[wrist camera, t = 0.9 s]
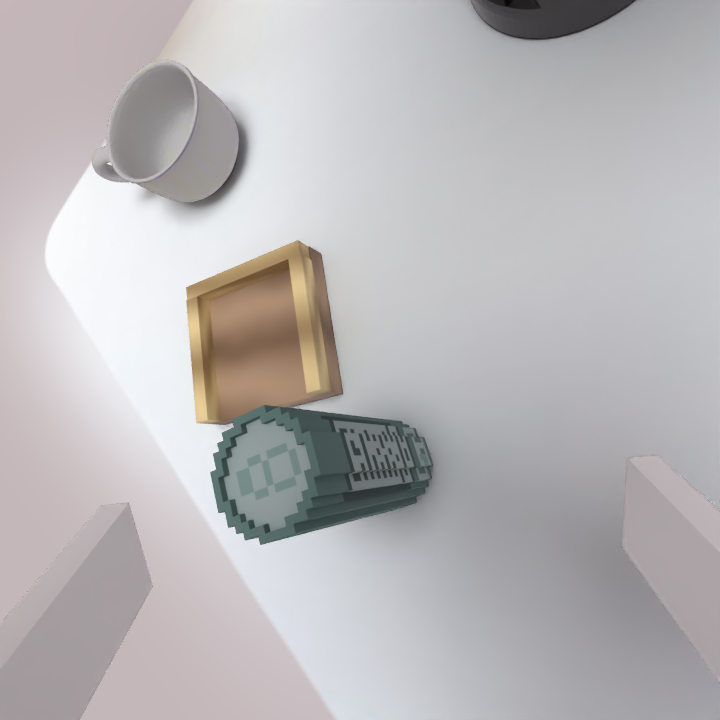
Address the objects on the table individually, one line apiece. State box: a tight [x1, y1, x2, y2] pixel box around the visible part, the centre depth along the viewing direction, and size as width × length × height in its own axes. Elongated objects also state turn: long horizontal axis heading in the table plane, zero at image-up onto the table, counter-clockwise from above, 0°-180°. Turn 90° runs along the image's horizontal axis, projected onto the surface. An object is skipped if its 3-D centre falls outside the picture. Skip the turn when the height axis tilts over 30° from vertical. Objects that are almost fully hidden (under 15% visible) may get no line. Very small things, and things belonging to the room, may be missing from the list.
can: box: [210, 405, 433, 545], centre depth 31 cm, size 6×6×15 cm
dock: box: [186, 241, 343, 425], centre depth 42 cm, size 12×12×3 cm
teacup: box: [92, 60, 239, 202], centre depth 48 cm, size 14×11×8 cm
